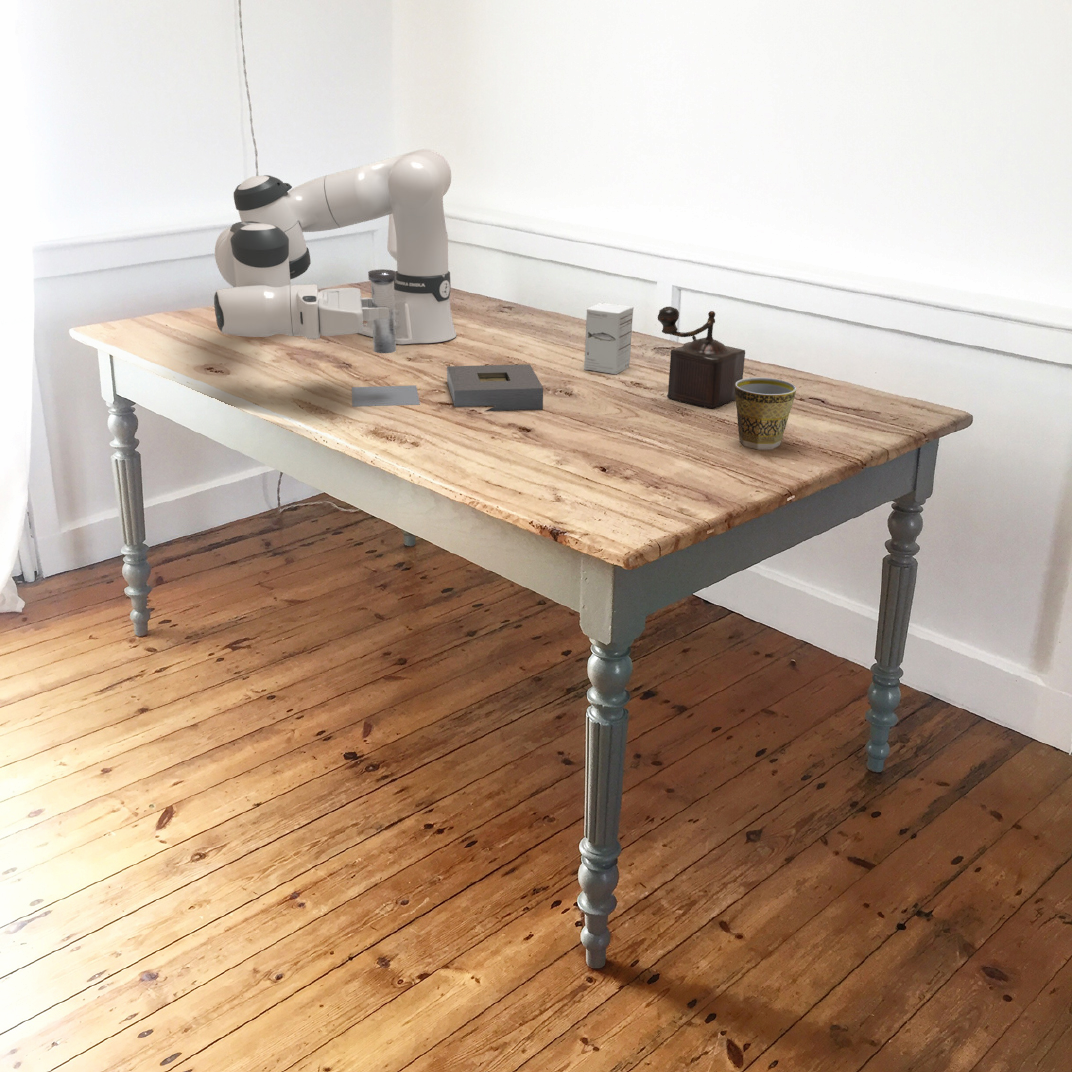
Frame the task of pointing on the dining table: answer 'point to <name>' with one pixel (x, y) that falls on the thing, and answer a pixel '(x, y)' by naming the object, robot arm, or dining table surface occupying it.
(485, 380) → the yellow square plate
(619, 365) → the supplement box
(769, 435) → the ceramic cup
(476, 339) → the dining table surface
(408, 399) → the rest pad
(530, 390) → the block
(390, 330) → the steel rivet
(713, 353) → the manual coffee grinder
